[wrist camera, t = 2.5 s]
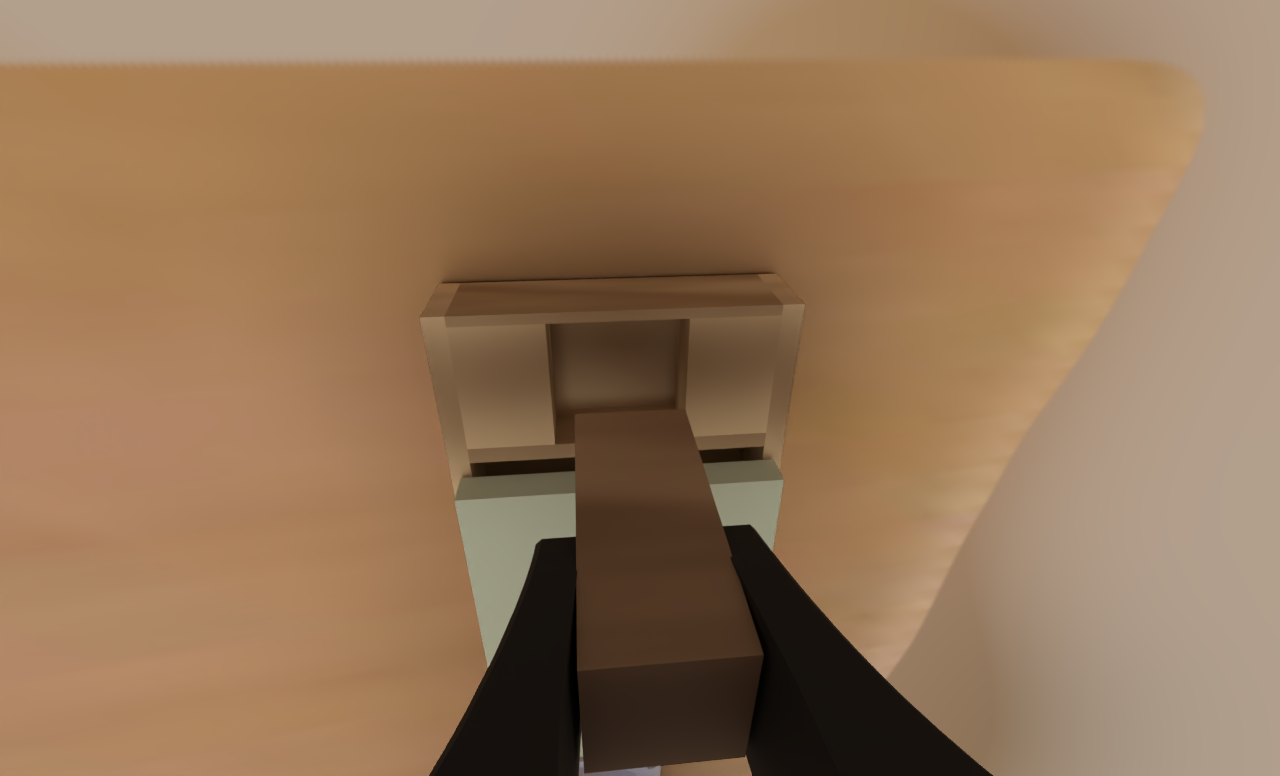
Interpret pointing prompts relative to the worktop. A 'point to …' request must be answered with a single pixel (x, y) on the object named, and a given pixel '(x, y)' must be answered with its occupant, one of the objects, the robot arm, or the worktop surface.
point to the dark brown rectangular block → (656, 600)
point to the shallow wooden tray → (609, 364)
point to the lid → (573, 526)
